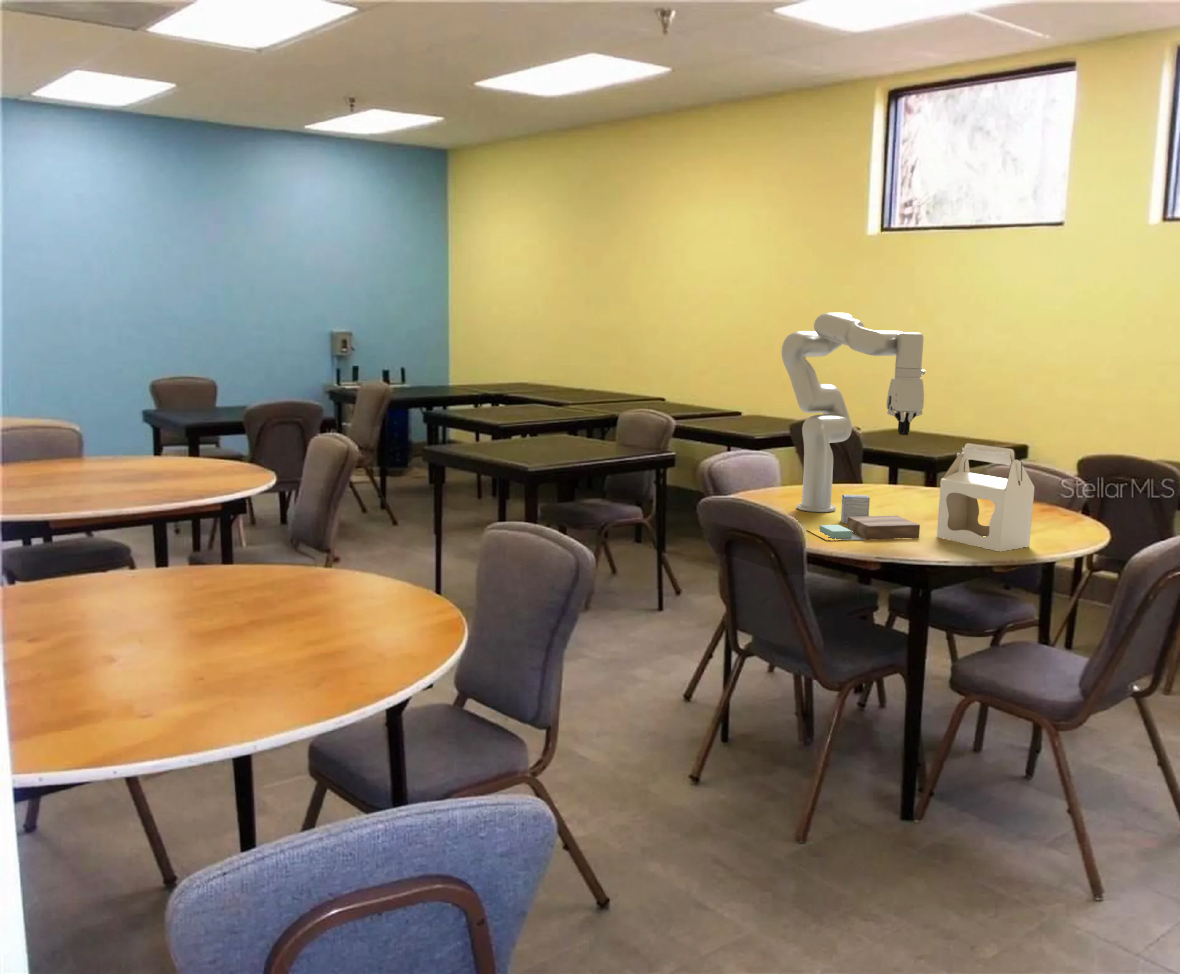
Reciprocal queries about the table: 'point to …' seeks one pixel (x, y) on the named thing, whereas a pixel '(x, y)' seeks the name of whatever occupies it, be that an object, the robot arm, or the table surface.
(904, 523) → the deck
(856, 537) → the mat
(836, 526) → the block
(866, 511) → the medicine box
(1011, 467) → the gable box
